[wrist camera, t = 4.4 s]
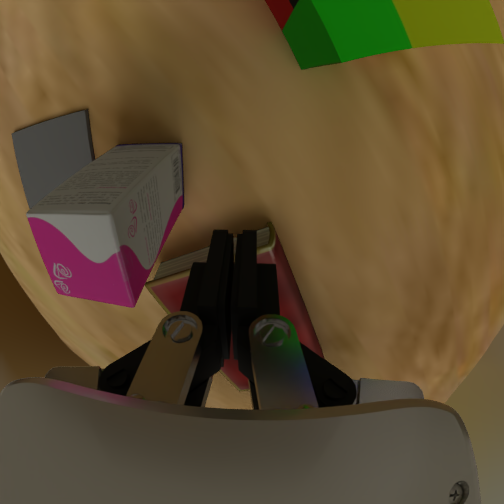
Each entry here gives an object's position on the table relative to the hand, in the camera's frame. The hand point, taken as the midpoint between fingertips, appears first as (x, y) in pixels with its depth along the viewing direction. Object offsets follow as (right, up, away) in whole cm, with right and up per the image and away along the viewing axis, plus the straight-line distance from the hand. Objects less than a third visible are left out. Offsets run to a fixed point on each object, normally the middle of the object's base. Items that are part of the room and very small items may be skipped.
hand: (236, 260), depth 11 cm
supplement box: (-8, +7, +10) cm, 14 cm away
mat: (-18, +7, +10) cm, 21 cm away
